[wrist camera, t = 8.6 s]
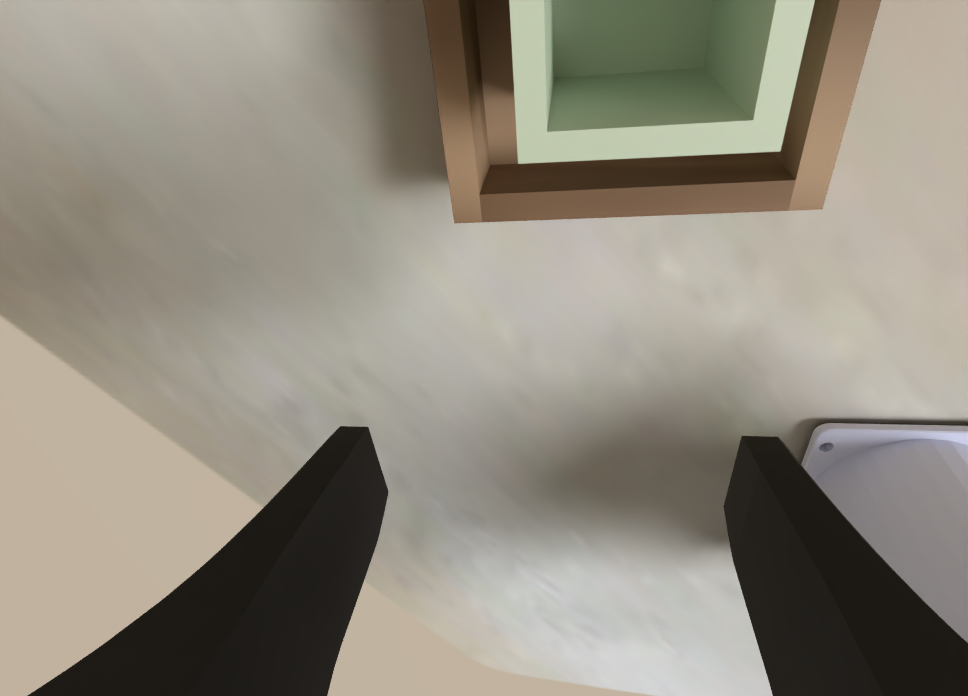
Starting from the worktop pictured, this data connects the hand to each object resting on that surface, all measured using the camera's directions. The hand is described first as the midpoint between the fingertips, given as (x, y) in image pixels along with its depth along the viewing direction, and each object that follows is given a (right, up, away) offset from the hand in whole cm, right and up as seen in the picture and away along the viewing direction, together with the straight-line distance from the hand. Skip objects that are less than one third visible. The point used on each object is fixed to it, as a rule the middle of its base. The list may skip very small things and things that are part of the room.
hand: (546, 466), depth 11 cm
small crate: (+2, +11, +3) cm, 12 cm away
